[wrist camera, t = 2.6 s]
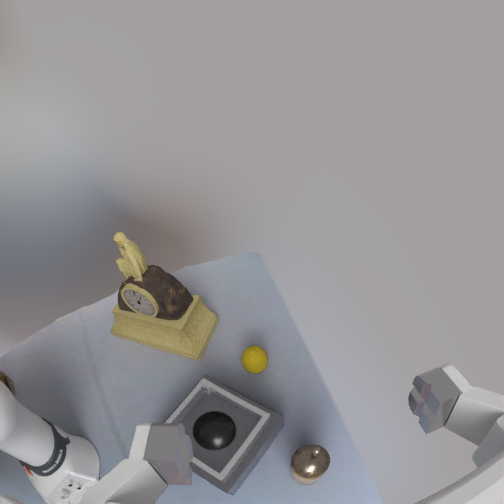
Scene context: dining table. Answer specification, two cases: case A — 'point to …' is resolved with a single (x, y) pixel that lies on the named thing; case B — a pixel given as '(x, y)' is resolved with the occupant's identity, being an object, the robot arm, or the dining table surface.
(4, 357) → the dining table surface
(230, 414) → the housing
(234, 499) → the dining table surface
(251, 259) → the dining table surface
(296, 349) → the dining table surface
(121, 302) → the decorative clock
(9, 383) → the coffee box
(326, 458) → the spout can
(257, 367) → the lemon
